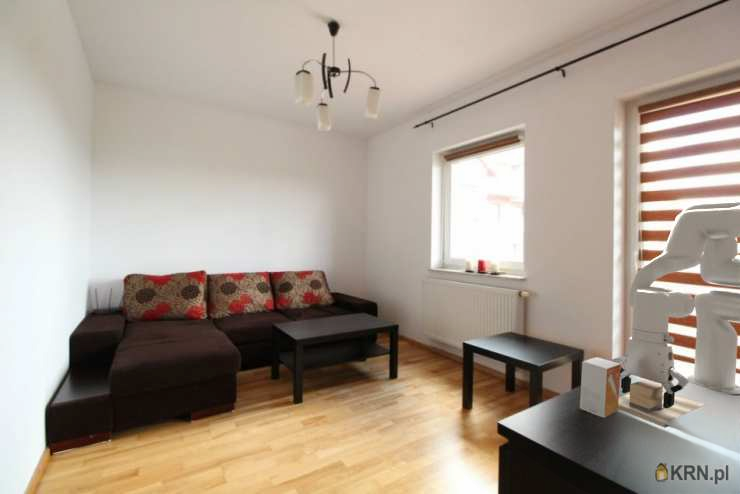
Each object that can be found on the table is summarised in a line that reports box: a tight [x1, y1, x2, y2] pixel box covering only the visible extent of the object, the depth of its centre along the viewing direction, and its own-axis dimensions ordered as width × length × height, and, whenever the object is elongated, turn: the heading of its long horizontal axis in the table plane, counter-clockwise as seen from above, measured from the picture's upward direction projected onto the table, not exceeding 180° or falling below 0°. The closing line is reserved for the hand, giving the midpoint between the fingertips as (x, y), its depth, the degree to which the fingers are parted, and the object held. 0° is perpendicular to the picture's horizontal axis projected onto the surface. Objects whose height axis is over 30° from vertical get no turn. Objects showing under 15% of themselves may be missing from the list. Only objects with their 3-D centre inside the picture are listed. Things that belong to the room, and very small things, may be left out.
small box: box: [579, 356, 622, 419], centre depth 96 cm, size 8×6×13 cm
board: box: [618, 390, 705, 428], centre depth 99 cm, size 23×13×1 cm, turn 119°
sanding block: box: [629, 379, 664, 413], centre depth 96 cm, size 7×4×6 cm, turn 118°
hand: (646, 399), depth 96 cm, fingers open, 9 cm apart
